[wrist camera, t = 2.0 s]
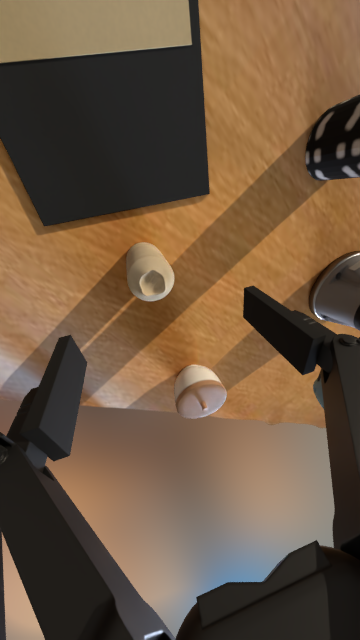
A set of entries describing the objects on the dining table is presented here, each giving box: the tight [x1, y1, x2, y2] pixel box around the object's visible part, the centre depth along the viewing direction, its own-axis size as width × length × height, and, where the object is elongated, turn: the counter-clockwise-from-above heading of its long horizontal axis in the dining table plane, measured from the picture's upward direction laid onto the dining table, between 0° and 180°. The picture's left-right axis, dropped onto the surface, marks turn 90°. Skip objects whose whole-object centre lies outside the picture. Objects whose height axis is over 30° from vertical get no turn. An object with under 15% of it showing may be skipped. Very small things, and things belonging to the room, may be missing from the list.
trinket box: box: [174, 365, 227, 419], centre depth 42 cm, size 11×11×9 cm
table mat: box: [0, 0, 209, 226], centre depth 19 cm, size 22×24×1 cm
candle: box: [126, 242, 174, 301], centre depth 26 cm, size 6×6×10 cm
